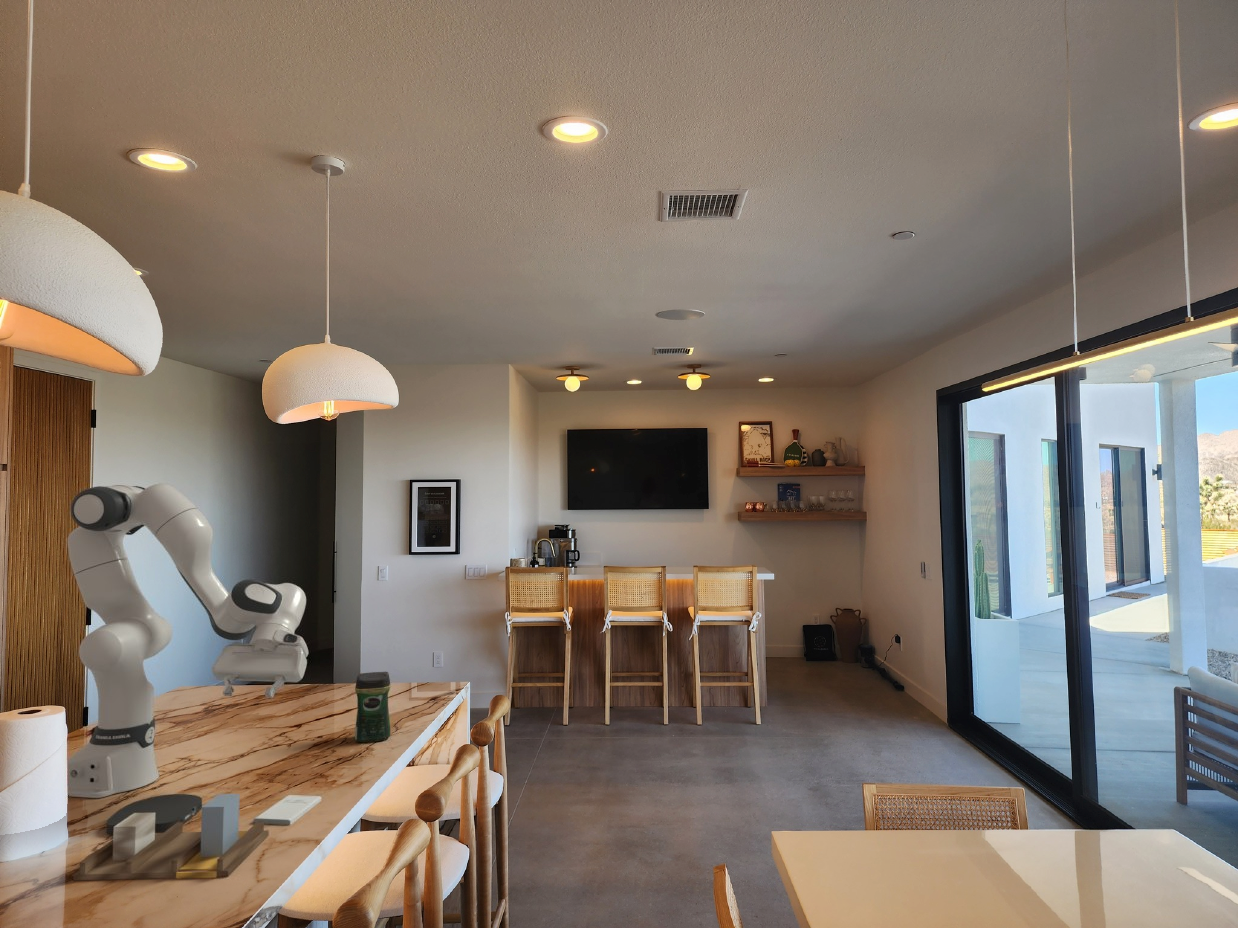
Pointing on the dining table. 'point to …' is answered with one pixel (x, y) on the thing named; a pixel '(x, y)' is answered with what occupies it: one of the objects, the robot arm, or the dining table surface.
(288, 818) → the external hard drive
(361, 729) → the coffee jar
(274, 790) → the dining table surface
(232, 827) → the grey rectangular block
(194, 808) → the media streaming box
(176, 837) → the rack
